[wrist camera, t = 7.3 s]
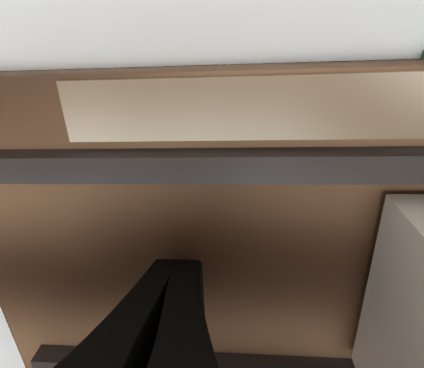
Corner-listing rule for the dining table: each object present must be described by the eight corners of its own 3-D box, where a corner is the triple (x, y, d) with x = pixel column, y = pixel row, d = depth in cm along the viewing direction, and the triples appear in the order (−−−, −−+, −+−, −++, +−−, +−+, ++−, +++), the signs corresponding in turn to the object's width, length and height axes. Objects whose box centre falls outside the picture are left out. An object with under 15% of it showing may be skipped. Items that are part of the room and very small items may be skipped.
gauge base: (649, 382, 13) (725, 448, 11) (52, 354, 15) (23, 404, 13) (933, 33, 7) (1186, 35, 5) (-49, 65, 10) (-125, 75, 8)
